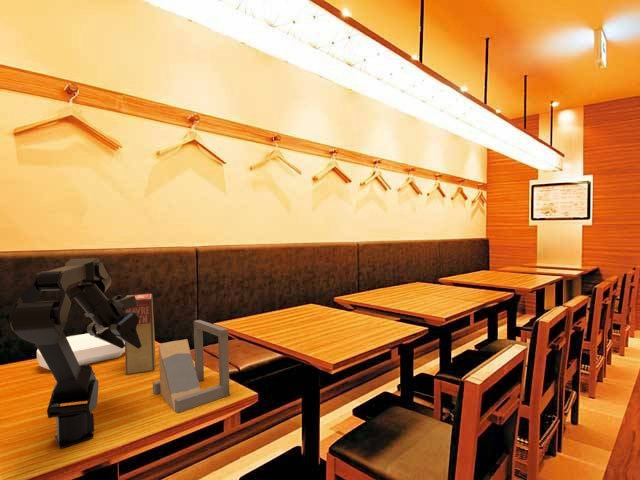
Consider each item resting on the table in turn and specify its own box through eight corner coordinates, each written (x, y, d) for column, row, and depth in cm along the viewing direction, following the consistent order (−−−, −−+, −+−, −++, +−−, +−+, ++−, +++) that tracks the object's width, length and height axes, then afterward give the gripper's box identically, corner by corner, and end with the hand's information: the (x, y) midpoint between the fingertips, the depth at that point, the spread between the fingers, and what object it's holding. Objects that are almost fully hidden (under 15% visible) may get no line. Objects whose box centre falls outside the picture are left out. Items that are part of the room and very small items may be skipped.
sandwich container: (174, 413, 99) (172, 356, 98) (159, 394, 111) (157, 343, 111) (206, 404, 104) (204, 350, 103) (188, 386, 116) (187, 338, 116)
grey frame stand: (177, 412, 98) (175, 340, 98) (153, 392, 111) (151, 328, 111) (229, 395, 108) (227, 329, 108) (201, 378, 121) (199, 319, 121)
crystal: (130, 332, 145) (41, 348, 126) (131, 357, 145) (42, 377, 126) (119, 326, 156) (35, 340, 136) (120, 349, 156) (35, 366, 136)
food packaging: (127, 363, 138) (125, 295, 137) (155, 359, 141) (153, 292, 141) (124, 375, 125) (122, 300, 125) (155, 371, 129) (153, 298, 129)
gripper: (137, 281, 98) (171, 326, 104) (105, 287, 110) (137, 327, 115) (100, 309, 90) (139, 356, 96) (70, 313, 101) (106, 355, 107)
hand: (131, 347), depth 103 cm, fingers open, 9 cm apart
